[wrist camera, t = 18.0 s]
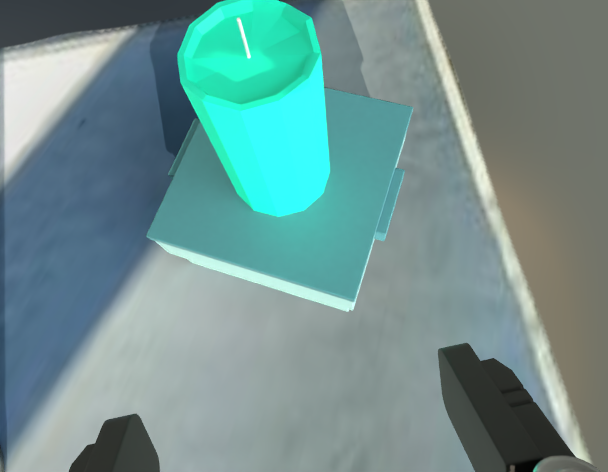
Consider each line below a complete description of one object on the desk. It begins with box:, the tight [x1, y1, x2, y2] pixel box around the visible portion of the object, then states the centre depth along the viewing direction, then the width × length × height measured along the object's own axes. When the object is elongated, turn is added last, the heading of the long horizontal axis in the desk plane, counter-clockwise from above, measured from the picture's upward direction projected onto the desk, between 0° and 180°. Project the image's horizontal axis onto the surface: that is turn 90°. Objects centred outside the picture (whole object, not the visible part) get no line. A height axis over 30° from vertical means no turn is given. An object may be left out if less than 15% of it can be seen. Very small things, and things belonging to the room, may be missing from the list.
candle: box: [177, 0, 330, 217], centre depth 23 cm, size 6×6×12 cm
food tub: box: [146, 87, 413, 312], centre depth 32 cm, size 14×13×6 cm
